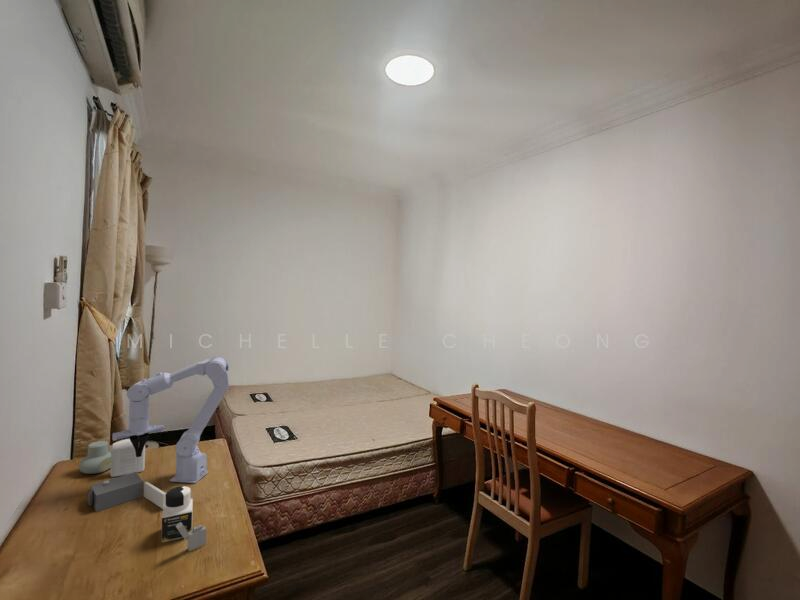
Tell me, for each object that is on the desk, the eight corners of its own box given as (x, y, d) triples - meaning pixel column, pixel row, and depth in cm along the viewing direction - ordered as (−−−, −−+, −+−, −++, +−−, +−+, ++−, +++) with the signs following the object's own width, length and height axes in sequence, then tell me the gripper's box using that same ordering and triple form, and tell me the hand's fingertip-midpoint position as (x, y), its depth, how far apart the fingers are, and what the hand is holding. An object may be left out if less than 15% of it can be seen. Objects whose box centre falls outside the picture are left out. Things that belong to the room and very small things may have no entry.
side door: (143, 496, 123) (143, 482, 123) (149, 493, 124) (149, 479, 124) (163, 509, 116) (163, 494, 116) (169, 506, 117) (169, 492, 117)
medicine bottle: (161, 543, 101) (162, 499, 101) (163, 528, 107) (164, 486, 107) (191, 536, 104) (192, 493, 104) (192, 521, 111) (193, 481, 110)
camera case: (135, 486, 129) (135, 470, 129) (142, 496, 123) (143, 479, 123) (86, 501, 119) (86, 483, 119) (91, 513, 113) (92, 494, 113)
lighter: (203, 541, 102) (204, 512, 102) (206, 544, 101) (207, 514, 101) (174, 554, 97) (175, 523, 97) (177, 557, 96) (177, 526, 96)
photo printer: (145, 467, 143) (145, 434, 143) (144, 471, 139) (145, 438, 139) (110, 473, 137) (111, 439, 137) (109, 478, 134) (110, 444, 133)
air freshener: (102, 462, 146) (102, 436, 145) (120, 465, 144) (121, 439, 144) (73, 476, 135) (73, 448, 135) (92, 478, 133) (92, 450, 133)
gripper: (113, 424, 123) (113, 465, 124) (165, 416, 133) (164, 454, 133) (112, 418, 129) (111, 458, 129) (162, 411, 138) (161, 447, 138)
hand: (138, 455), depth 131 cm, fingers closed
